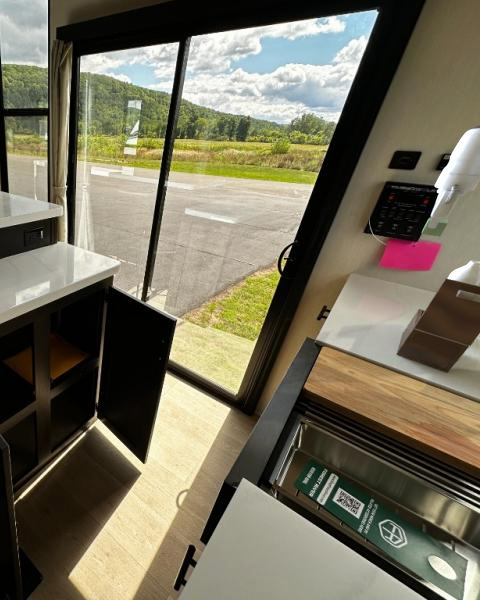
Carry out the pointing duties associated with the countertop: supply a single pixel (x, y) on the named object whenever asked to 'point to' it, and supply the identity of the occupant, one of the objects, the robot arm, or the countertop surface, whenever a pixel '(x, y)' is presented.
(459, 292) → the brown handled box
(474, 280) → the water bottle
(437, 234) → the block
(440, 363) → the chest
